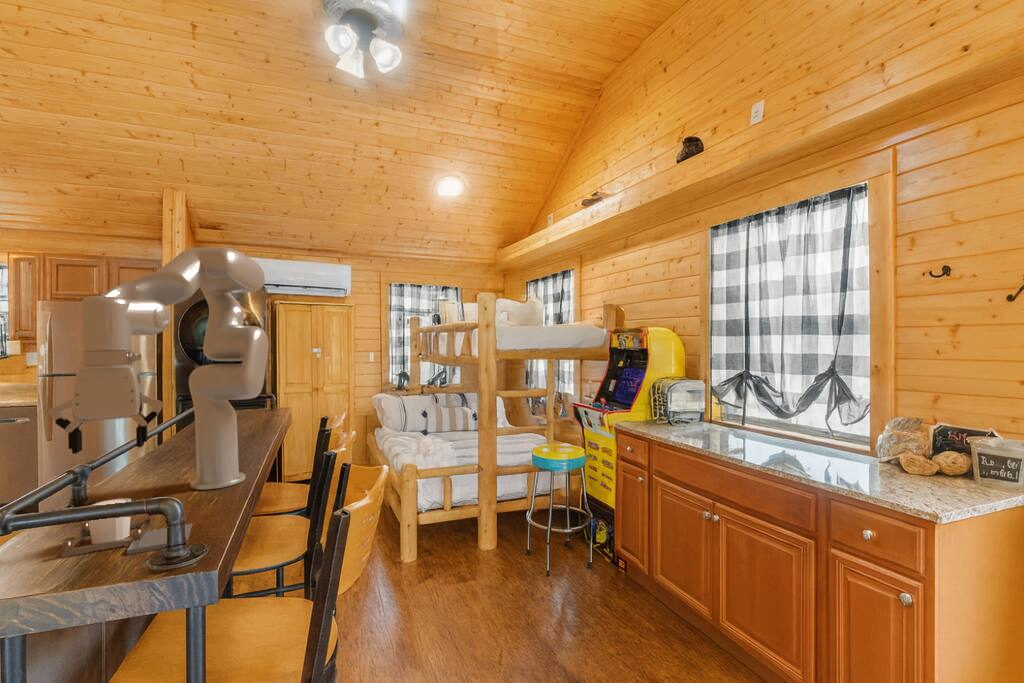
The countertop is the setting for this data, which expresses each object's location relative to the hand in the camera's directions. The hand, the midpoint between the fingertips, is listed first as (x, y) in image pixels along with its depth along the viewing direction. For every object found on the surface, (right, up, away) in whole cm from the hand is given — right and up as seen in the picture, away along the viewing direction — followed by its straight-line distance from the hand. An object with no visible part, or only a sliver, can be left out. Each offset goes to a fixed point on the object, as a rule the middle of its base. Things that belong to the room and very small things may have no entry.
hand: (109, 449), depth 94 cm
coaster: (+11, -17, -1) cm, 20 cm away
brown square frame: (0, -18, 0) cm, 18 cm away
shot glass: (0, -18, 0) cm, 18 cm away
